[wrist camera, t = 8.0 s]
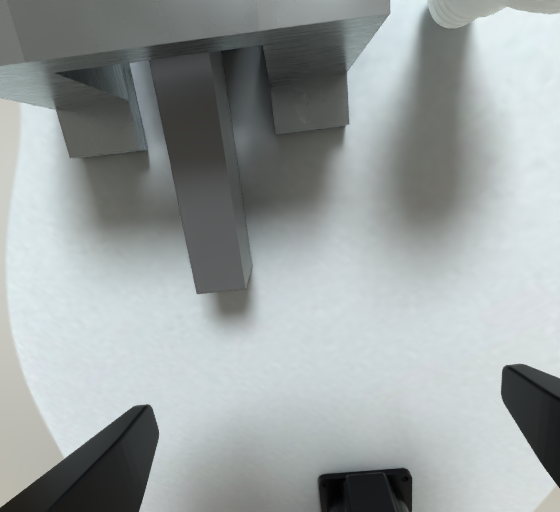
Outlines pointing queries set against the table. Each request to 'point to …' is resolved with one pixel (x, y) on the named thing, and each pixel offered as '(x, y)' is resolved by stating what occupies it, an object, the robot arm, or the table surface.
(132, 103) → the gray arch-shaped bracket
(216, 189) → the plug
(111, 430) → the robot arm
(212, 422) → the table surface
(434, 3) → the lightbulb
